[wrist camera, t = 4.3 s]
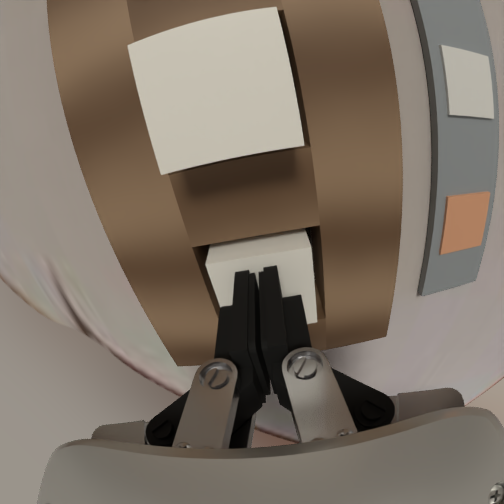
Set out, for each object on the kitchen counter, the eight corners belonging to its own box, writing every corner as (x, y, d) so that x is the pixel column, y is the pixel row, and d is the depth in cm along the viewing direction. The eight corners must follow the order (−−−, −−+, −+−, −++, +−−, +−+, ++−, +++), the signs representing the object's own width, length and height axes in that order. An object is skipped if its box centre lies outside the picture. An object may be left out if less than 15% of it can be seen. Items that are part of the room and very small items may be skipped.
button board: (370, 301, 17) (386, 336, 14) (185, 329, 18) (177, 366, 15) (299, -115, 3) (307, -142, 1) (77, -59, 4) (49, -74, 2)
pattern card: (471, 275, 16) (476, 282, 15) (417, 290, 16) (422, 298, 16) (433, -86, 2) (439, -90, 2) (361, -108, 3) (365, -113, 2)
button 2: (306, 276, 15) (317, 322, 12) (234, 287, 16) (230, 334, 13) (297, 209, 13) (311, 247, 10) (215, 223, 14) (205, 264, 11)
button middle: (288, 129, 10) (304, 145, 7) (187, 150, 10) (160, 175, 7) (268, 33, 8) (276, 6, 5) (164, 57, 8) (127, 45, 5)
